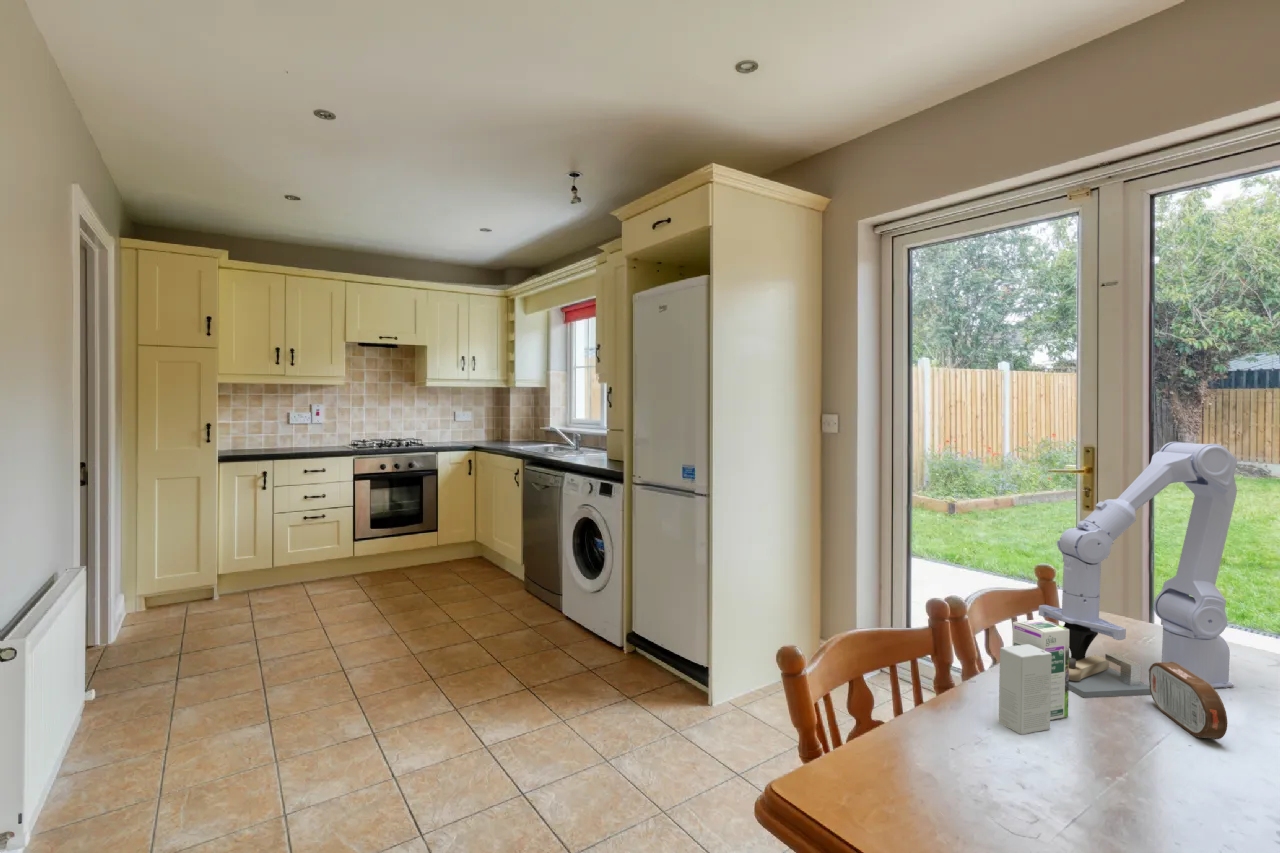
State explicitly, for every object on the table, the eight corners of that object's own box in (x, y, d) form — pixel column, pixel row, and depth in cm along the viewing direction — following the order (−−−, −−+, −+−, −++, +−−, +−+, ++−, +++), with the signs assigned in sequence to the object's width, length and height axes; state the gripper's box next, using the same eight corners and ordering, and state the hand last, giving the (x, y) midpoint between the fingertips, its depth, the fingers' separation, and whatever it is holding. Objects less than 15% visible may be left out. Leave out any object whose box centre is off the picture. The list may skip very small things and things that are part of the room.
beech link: (1075, 682, 111) (1076, 663, 111) (1057, 675, 113) (1057, 657, 113) (1110, 669, 117) (1111, 651, 117) (1092, 663, 119) (1093, 645, 119)
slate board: (1100, 668, 120) (1101, 663, 120) (1155, 694, 109) (1155, 688, 109) (1035, 671, 118) (1035, 666, 118) (1083, 697, 108) (1083, 691, 108)
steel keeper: (1114, 673, 116) (1115, 653, 116) (1140, 685, 111) (1141, 664, 111) (1104, 673, 116) (1105, 653, 115) (1130, 685, 110) (1131, 665, 110)
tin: (1228, 750, 91) (1231, 693, 91) (1203, 747, 92) (1206, 691, 92) (1164, 703, 106) (1166, 654, 106) (1143, 701, 107) (1145, 652, 106)
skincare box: (1026, 717, 100) (1028, 643, 100) (1050, 730, 96) (1053, 653, 96) (996, 721, 98) (998, 646, 98) (1020, 735, 94) (1022, 657, 94)
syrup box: (1042, 723, 98) (1045, 631, 98) (1009, 706, 104) (1012, 619, 104) (1068, 718, 100) (1071, 628, 100) (1034, 701, 106) (1037, 616, 105)
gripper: (1029, 584, 122) (1026, 653, 122) (1109, 606, 109) (1106, 683, 109) (1052, 581, 125) (1050, 648, 125) (1134, 602, 111) (1131, 677, 112)
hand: (1078, 664), depth 117 cm, fingers closed, pressing on beech link
